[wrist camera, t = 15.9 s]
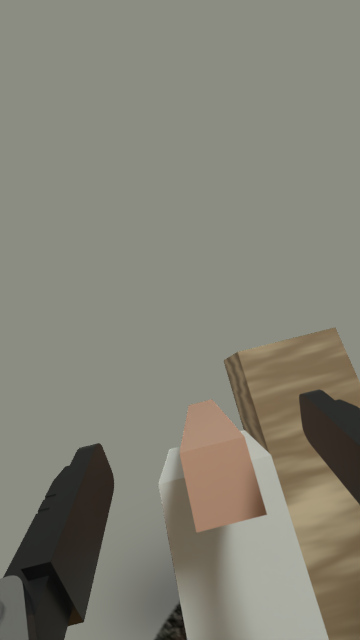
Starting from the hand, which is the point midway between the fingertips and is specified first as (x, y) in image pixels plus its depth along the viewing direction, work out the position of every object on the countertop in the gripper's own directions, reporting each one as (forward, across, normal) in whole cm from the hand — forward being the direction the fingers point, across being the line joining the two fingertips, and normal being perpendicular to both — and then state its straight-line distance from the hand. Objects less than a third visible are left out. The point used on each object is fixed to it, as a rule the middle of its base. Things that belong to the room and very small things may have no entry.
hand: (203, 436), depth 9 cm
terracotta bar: (+10, 0, +11) cm, 15 cm away
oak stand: (+11, -14, +38) cm, 42 cm away
